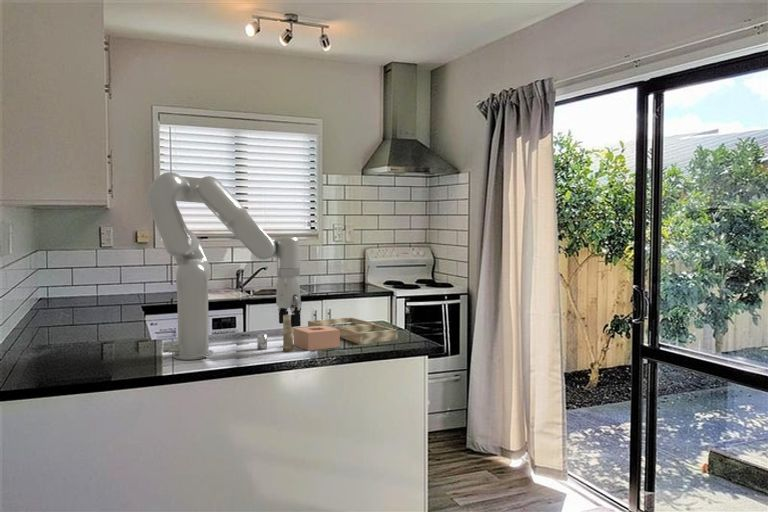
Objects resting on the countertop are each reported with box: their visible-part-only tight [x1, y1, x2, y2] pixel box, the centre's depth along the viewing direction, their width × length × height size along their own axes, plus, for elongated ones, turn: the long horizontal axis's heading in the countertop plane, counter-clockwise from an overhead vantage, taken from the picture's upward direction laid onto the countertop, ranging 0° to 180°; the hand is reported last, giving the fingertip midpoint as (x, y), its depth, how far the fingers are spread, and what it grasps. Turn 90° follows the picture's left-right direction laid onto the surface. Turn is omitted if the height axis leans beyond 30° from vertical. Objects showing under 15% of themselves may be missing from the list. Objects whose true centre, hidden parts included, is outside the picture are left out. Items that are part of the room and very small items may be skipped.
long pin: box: [282, 314, 294, 353], centre depth 201 cm, size 3×3×12 cm
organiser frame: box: [307, 317, 398, 346], centre depth 233 cm, size 20×38×4 cm, turn 33°
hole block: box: [293, 325, 341, 352], centre depth 210 cm, size 12×12×6 cm
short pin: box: [256, 333, 268, 351], centre depth 204 cm, size 3×3×5 cm
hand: (289, 324), depth 201 cm, fingers open, 9 cm apart
